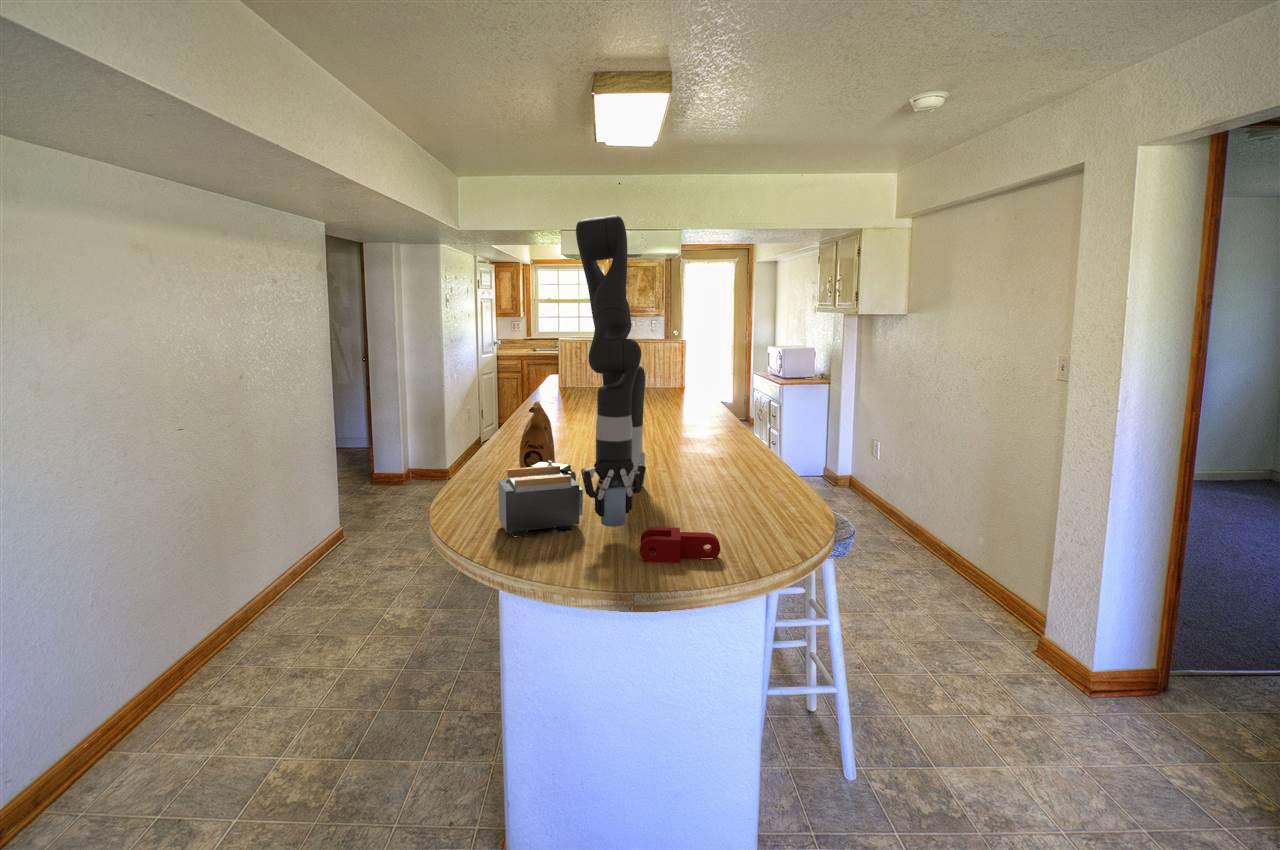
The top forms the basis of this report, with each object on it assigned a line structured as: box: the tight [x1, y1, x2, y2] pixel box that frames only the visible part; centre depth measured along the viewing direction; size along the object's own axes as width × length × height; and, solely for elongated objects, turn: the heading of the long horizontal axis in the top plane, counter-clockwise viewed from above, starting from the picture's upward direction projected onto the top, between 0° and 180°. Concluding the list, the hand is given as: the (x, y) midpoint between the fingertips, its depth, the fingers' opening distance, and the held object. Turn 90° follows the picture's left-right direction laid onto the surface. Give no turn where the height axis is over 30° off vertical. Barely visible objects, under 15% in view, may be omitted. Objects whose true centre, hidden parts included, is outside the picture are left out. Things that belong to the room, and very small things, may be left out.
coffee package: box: [518, 401, 556, 468], centre depth 181 cm, size 10×12×22 cm
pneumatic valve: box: [529, 461, 577, 482], centre depth 159 cm, size 6×12×12 cm, turn 72°
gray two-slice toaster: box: [497, 465, 584, 538], centre depth 145 cm, size 17×10×13 cm, turn 112°
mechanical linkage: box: [639, 526, 721, 564], centre depth 131 cm, size 16×7×5 cm, turn 88°
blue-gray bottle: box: [600, 481, 627, 528], centre depth 138 cm, size 5×5×10 cm
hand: (613, 513), depth 139 cm, fingers closed on blue-gray bottle, 5 cm apart
